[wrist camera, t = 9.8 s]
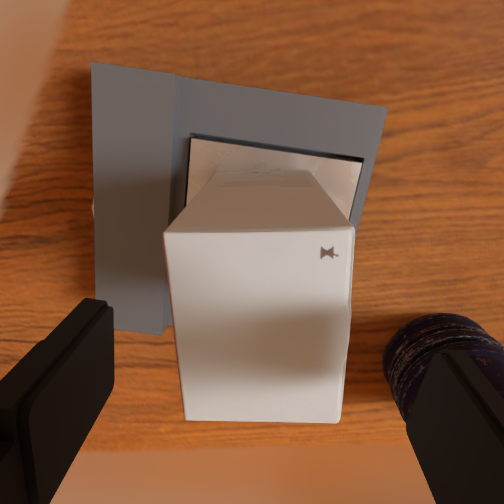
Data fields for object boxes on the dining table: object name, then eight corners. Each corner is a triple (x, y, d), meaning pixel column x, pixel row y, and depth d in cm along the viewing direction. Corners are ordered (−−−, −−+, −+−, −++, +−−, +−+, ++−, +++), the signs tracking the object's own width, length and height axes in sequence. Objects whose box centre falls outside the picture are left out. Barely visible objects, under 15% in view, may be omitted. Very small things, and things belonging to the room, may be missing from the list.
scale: (116, 71, 26) (82, 60, 21) (372, 108, 26) (396, 106, 21) (115, 295, 32) (89, 325, 27) (321, 324, 32) (331, 359, 27)
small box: (214, 170, 24) (157, 227, 11) (311, 168, 23) (361, 224, 11) (221, 283, 26) (181, 425, 14) (308, 282, 26) (345, 427, 14)
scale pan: (199, 136, 26) (191, 138, 23) (351, 158, 26) (362, 163, 23) (188, 275, 29) (180, 291, 27) (320, 294, 30) (326, 312, 27)
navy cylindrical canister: (371, 397, 35) (442, 585, 21) (392, 307, 31) (495, 460, 17) (474, 406, 35) (616, 601, 21) (507, 317, 31) (705, 479, 17)
